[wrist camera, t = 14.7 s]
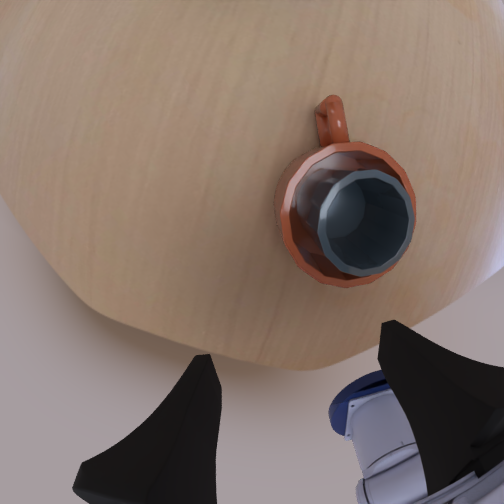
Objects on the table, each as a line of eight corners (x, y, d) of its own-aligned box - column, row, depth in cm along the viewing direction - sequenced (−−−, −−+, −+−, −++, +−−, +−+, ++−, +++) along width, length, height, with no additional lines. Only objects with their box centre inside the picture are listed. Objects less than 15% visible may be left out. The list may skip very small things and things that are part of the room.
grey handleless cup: (369, 235, 19) (414, 266, 13) (300, 246, 19) (321, 284, 13) (363, 164, 18) (412, 166, 11) (290, 172, 18) (310, 175, 12)
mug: (383, 250, 20) (415, 273, 15) (282, 267, 21) (291, 298, 16) (369, 106, 17) (401, 92, 12) (258, 114, 17) (260, 97, 12)
